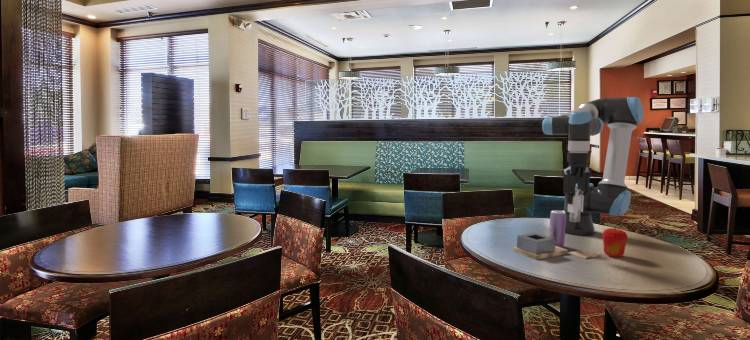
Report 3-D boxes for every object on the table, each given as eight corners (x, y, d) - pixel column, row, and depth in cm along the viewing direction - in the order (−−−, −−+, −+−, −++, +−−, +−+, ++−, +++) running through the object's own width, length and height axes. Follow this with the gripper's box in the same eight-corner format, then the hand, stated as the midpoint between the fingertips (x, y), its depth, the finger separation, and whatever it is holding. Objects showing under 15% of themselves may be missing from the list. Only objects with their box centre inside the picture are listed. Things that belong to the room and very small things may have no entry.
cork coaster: (581, 251, 167) (581, 249, 166) (597, 256, 160) (597, 254, 160) (569, 253, 164) (569, 252, 163) (585, 258, 157) (585, 257, 157)
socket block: (535, 244, 171) (535, 232, 170) (554, 251, 162) (555, 238, 161) (516, 247, 167) (517, 235, 166) (536, 254, 158) (536, 241, 157)
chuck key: (584, 222, 159) (585, 190, 158) (577, 223, 158) (578, 191, 156) (571, 219, 165) (573, 188, 163) (565, 220, 163) (566, 188, 161)
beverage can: (565, 249, 170) (567, 213, 168) (550, 248, 171) (552, 212, 169) (562, 244, 175) (564, 210, 174) (547, 244, 177) (549, 209, 175)
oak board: (543, 245, 174) (543, 242, 174) (567, 253, 164) (567, 249, 164) (513, 250, 167) (513, 247, 167) (536, 259, 156) (536, 255, 156)
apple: (630, 259, 157) (632, 229, 156) (608, 259, 157) (610, 228, 156) (618, 252, 165) (620, 223, 164) (597, 252, 166) (598, 223, 164)
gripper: (585, 150, 165) (582, 207, 168) (554, 152, 158) (551, 211, 161) (602, 151, 158) (598, 211, 161) (570, 153, 151) (567, 215, 154)
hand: (575, 211), depth 161 cm, fingers closed on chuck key, 4 cm apart
